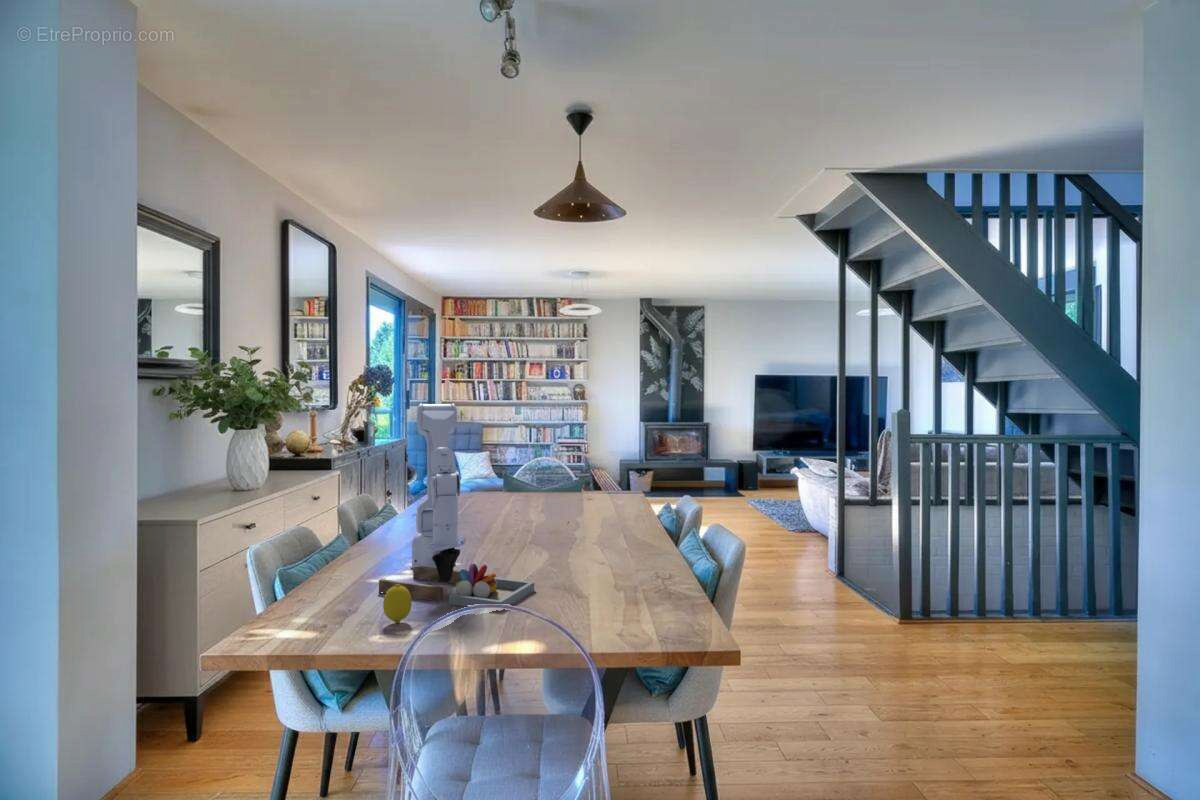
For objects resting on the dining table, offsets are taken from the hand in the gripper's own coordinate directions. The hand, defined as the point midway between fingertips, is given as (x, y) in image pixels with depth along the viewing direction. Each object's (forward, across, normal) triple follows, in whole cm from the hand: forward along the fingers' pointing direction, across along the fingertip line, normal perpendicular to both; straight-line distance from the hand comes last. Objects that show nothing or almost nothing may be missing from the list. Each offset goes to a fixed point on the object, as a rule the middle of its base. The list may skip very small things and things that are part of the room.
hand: (445, 581), depth 157 cm
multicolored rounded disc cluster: (+3, 0, -8) cm, 9 cm away
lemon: (+2, -22, -3) cm, 22 cm away
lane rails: (+2, 0, +5) cm, 6 cm away
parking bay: (+2, 0, -12) cm, 13 cm away
